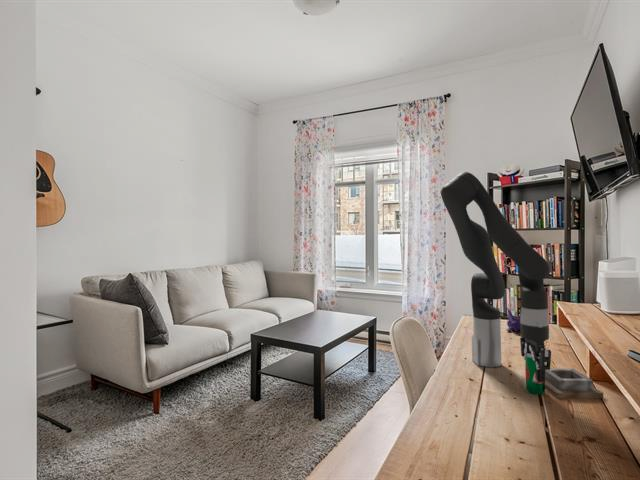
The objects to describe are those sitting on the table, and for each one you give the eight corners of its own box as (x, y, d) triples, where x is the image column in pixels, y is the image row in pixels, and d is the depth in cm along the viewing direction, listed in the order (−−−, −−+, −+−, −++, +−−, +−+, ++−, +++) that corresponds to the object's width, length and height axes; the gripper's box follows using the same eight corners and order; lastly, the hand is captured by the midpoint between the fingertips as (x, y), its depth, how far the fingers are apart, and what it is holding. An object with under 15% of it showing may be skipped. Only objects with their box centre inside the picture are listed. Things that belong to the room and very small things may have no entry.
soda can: (535, 396, 110) (534, 356, 110) (521, 390, 115) (521, 351, 115) (549, 394, 112) (548, 354, 111) (535, 387, 116) (534, 349, 116)
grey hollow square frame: (556, 398, 109) (556, 382, 109) (534, 380, 122) (534, 366, 122) (603, 398, 108) (603, 382, 108) (575, 380, 121) (575, 366, 121)
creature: (504, 335, 175) (504, 308, 174) (508, 326, 190) (507, 302, 190) (526, 337, 170) (526, 310, 170) (528, 328, 186) (527, 303, 185)
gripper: (511, 317, 120) (511, 368, 121) (533, 328, 106) (534, 387, 106) (535, 316, 120) (536, 368, 120) (560, 328, 105) (561, 387, 106)
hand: (535, 377), depth 113 cm, fingers open, 6 cm apart
